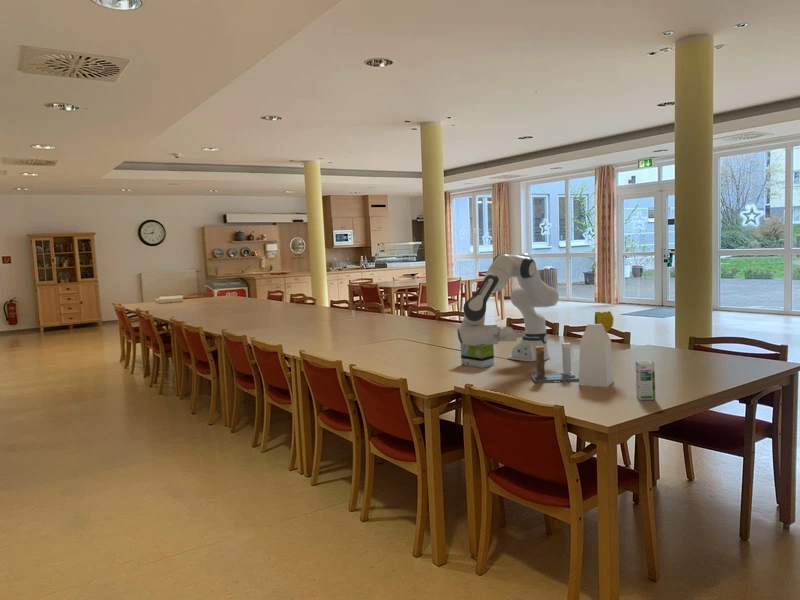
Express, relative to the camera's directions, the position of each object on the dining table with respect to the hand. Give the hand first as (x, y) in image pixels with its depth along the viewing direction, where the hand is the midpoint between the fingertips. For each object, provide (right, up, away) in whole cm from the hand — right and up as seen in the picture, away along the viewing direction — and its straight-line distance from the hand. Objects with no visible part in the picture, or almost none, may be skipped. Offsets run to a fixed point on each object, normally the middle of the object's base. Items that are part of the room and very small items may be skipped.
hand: (524, 333), depth 264 cm
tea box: (-15, -19, +45) cm, 51 cm away
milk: (+30, -21, -8) cm, 38 cm away
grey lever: (+21, -19, +7) cm, 29 cm away
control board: (+15, -21, +4) cm, 26 cm away
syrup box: (+39, -23, -37) cm, 59 cm away
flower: (+38, -20, +4) cm, 43 cm away
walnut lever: (+8, -20, +1) cm, 22 cm away
